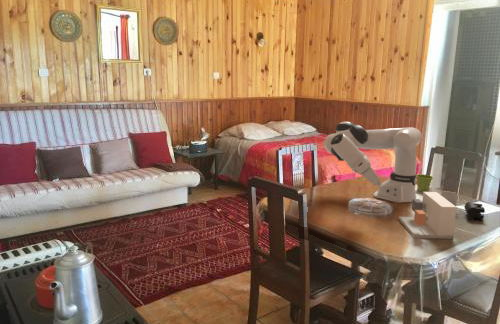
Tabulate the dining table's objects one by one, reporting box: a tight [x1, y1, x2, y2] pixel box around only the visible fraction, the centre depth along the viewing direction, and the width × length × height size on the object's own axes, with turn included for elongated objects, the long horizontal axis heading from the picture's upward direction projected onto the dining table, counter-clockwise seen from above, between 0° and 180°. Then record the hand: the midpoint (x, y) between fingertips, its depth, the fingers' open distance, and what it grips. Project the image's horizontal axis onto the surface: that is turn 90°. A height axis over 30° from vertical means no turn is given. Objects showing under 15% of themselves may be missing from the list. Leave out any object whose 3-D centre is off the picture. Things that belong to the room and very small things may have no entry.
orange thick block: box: [413, 210, 428, 225], centre depth 175 cm, size 4×5×5 cm
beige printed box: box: [440, 190, 458, 207], centre depth 208 cm, size 4×7×10 cm, turn 56°
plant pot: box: [416, 173, 434, 193], centre depth 244 cm, size 9×9×9 cm
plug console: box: [398, 191, 458, 240], centre depth 183 cm, size 16×22×14 cm
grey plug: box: [411, 198, 425, 213], centre depth 190 cm, size 4×5×5 cm
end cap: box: [464, 200, 486, 222], centre depth 199 cm, size 10×7×7 cm
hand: (379, 184), depth 189 cm, fingers closed
